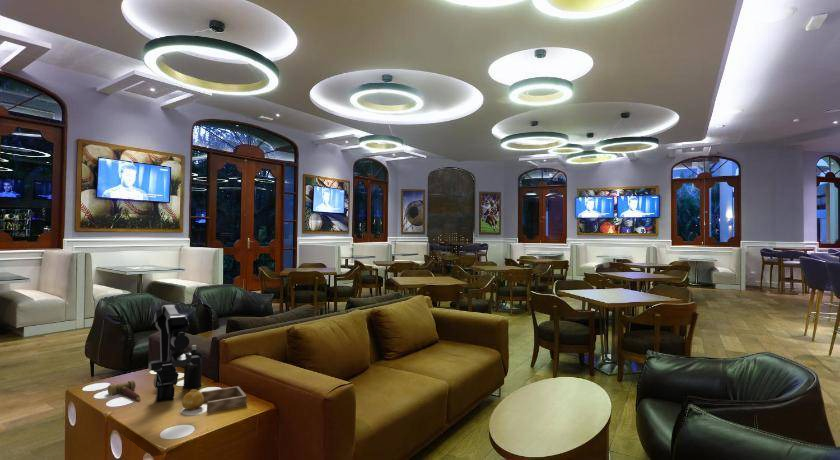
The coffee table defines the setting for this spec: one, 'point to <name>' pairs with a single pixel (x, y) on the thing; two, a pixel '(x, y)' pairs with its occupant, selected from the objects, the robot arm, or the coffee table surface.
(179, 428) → the coffee table surface
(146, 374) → the coffee table surface
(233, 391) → the tray
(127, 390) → the gavel
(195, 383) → the aerosol can
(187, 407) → the fruit
